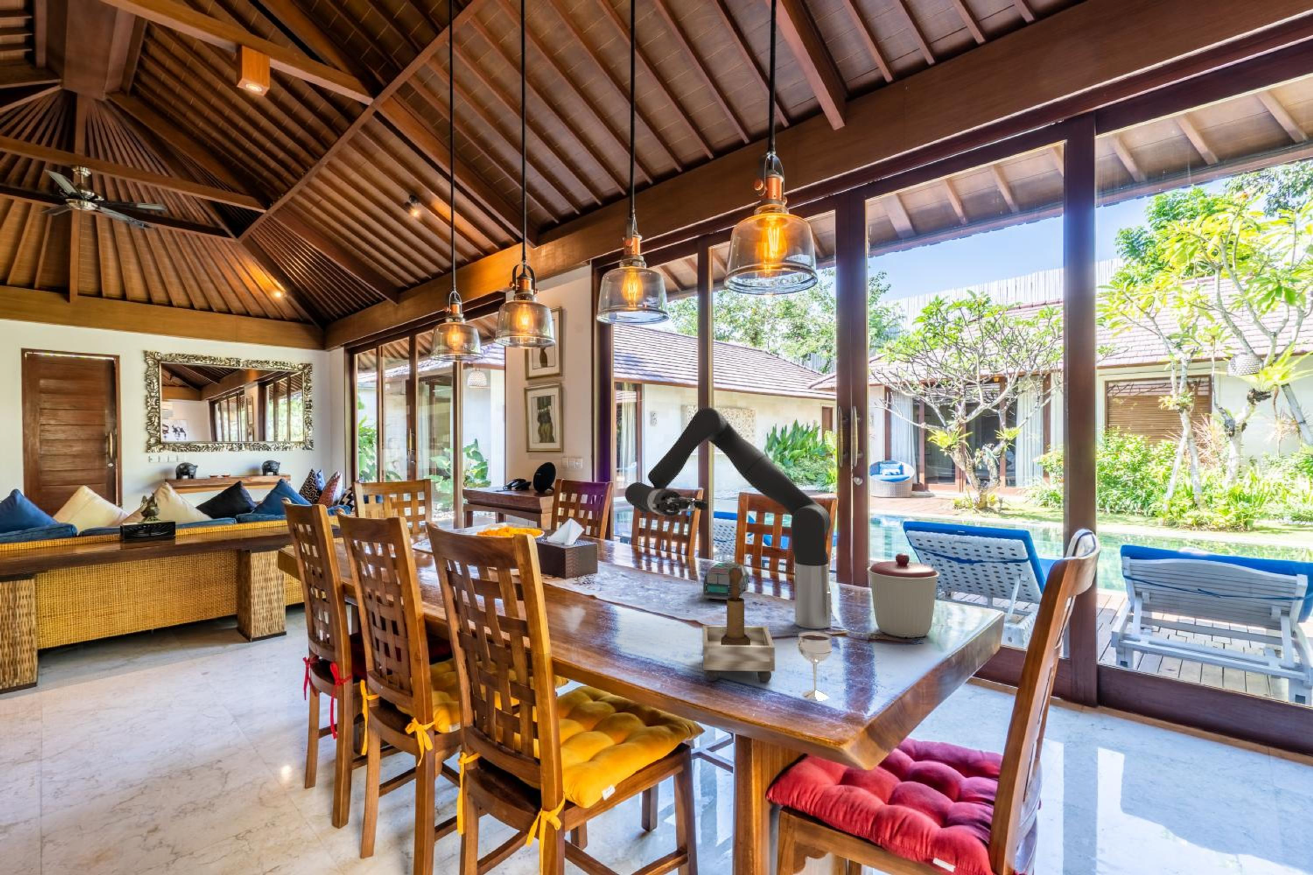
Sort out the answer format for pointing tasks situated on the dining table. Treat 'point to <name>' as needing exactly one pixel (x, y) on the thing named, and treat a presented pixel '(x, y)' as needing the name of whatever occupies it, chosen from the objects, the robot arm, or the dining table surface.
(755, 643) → the cart
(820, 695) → the wineglass
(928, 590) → the canister
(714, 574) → the toy van
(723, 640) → the mortar and pestle
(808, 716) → the dining table surface
